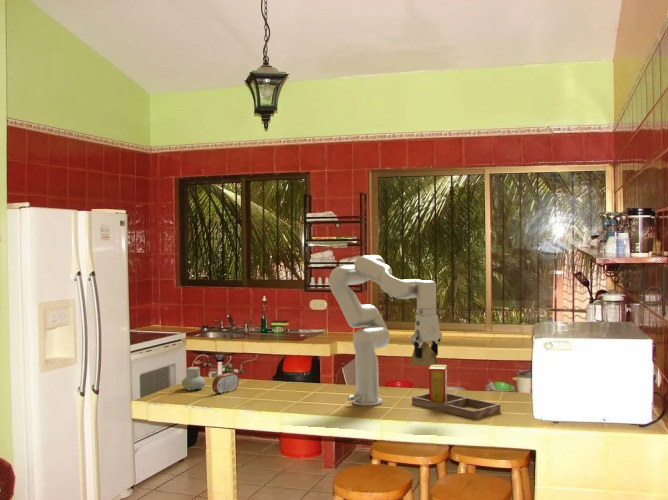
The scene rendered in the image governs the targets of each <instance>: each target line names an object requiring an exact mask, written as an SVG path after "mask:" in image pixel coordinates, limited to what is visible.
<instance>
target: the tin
mask: <svg viewBox="0 0 668 500" xmlns="http://www.w3.org/2000/svg"><path fill="white" fill-rule="evenodd" d="M239 383H240V382H239V376H238V375H237V374H236V373H234V372H227V373H223V374H217V376H215V377H214V379H213V381H212V384H211V386H212V387H211V388H212V391H213V392H214V393H215V394H219V393H222V392H226V391H229V390H233V389H235V390H237V388H238V386H239Z"/></svg>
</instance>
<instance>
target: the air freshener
mask: <svg viewBox="0 0 668 500" xmlns="http://www.w3.org/2000/svg"><path fill="white" fill-rule="evenodd" d="M200 370H201V369H200V367H199V366H190V367H187V368H186V374H187V375H186V377H185V378H183V379H182V381H181V386H182V387H183V388H184V389H185V390H187V389H190V390H189V391H196V390H195V389H198V390H201V389H202V388H204V386H206V380H205V378H204V377H202V376H201V371H200ZM193 389H194V390H193Z"/></svg>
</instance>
